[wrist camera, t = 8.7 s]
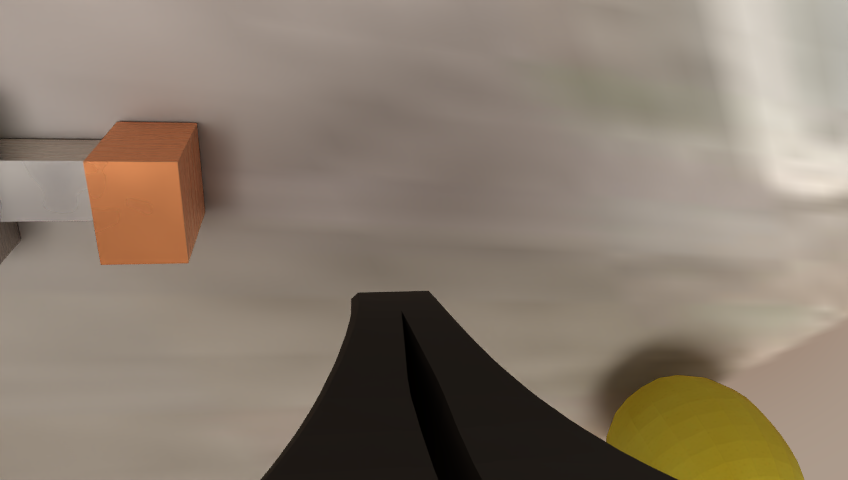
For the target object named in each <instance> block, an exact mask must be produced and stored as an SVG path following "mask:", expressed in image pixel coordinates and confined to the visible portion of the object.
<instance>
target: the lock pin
mask: <svg viewBox="0 0 848 480" xmlns="http://www.w3.org/2000/svg"><path fill="white" fill-rule="evenodd" d="M204 214H205V206H204V195H203V184H202V174H201V163H200V152H199V141H198V130H197V123H162V122H116V124H115V125H114V126H113V127H112V128H111V129H110V131H109V132H108V133H107V134H106V135H105V136H104V138H103V139H102V140H46V139H0V222H33V221H93V222H94V228H95V234H96V240H97V245H98V251H99V257H100V263H101V265H112V264H167V263H189V260H190V257H191V253H192V250H193V247H194V244H195V241H196V238H197V235H198V232H199V229H200V226H201V223H202V220H203V217H204Z"/></svg>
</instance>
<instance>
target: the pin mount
mask: <svg viewBox="0 0 848 480" xmlns="http://www.w3.org/2000/svg"><path fill="white" fill-rule="evenodd" d="M20 240H21V238H20V234H19V230H18V225H17V222H0V264H1V263H2V262H3V261H4V259H5V258H6V257H7V256H8V255H9V253H10V252H11V251H12V250H13V249H14V247H15V246H16V245H17V244H18V243H19V242H20Z"/></svg>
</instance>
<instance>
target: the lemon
mask: <svg viewBox="0 0 848 480" xmlns="http://www.w3.org/2000/svg"><path fill="white" fill-rule="evenodd" d="M606 442H607V443H608V444H610V445H612V446H614V447H615V448H617V449H619V450H620V451H622V452H624V453H626V454H628V455H630V456H632V457H634V458H635V459H637V460H639V461H641V462H643V463H645V464H647V465H649V466H651V467H653V468H655V469H657V470H659V471H661V472H663V473H665V474H668V475H670V476H672V477H674V478H676V479H678V480H804V477H803V475H802V472H801V469H800V467H799V464H798V462H797V460H796V458H795V456H794V455H793V453H792V451H791V450H790V448H789V446H788V445H787V443H786V442H785V441H784V439H783V438H782V436H781V435H780V433H779V432H778V431H777V430H776V429H775V427H774V426H773V425H772V424H771V422H770V421H769V420H768V419H767V418H766V417H765V416H764V415H763V413H761V411H760V410H759V409H758V408H757V407H756V406H755V405H754V404H752V403H751V402H750V401H749V400H748V399H747V398H746V397H745V396H743V395H741V394H740V393H738V392H737V391H735V390H733V389H731V388H729V387H726V386H724V385H722V384H720V383H717V382H715V381H713V380H710V379H708V378H704V377H693V376H682V375H674V376H668V377H661V378H658V379H656V380H654V381H652V382H650V383H648V384H646V385H645V386H643V387H641V388H640V389H638V390H637V391H636V392H635V393H633V394H632V395H631V396H630V397H628V398H627V399H626V400H625V402H624V403H623V404H622V405H621V407H620V408H619V409H618V410H617V412H616V413H615V415H614V418H613V421H612V423H611V426H610V429H609V431H608V434H607V438H606Z"/></svg>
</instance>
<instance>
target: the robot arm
mask: <svg viewBox="0 0 848 480" xmlns="http://www.w3.org/2000/svg"><path fill="white" fill-rule="evenodd" d="M261 480H678V479H676V478H674V477H672V476H670V475H668V474H665V473H663V472H661V471H659V470H657V469H655V468H653V467H651V466H649V465H647V464H645V463H643V462H641V461H639V460H637V459H635V458H634V457H632V456H630V455H628V454H626V453H624V452H622V451H620V450H619V449H617V448H615V447H614V446H612V445H610V444H608V443H607V442H605V441H603V440H602V439H600V438H598V437H597V436H595V435H593V434H592V433H590V432H588V431H586V430H585V429H583V428H582V427H580V426H579V425H577V424H576V423H574V422H572V421H571V420H569V419H568V418H566V417H565V416H564V415H562V414H561V413H559V412H558V411H557V410H555V409H554V408H552V407H551V406H550V405H548V404H547V403H545V402H544V401H543V400H541V399H540V398H538V397H537V396H536V395H535V394H533V393H532V392H531V391H529V390H528V389H527V388H526V387H524V386H523V385H522V384H521V383H520V382H518V381H517V380H516V379H515V378H514V377H513V376H511V375H510V374H509V373H508V372H507V371H506V370H504V369H503V368H502V367H501V366H500V365H499V364H498V363H497V362H496V361H494V360H493V359H492V358H491V357H490V356H489V355H488V354H487V353H486V352H485V351H484V350H483V349H482V348H481V347H480V346H479V345H478V344H477V343H476V342H475V341H474V340H473V339H472V338H471V337H470V336H469V335H468V334H467V333H466V331H465V330H464V329H463V328H462V327H461V326H460V325H459V324H458V323H457V322H456V321H455V320H454V318H453V317H452V316H451V315H450V314H449V313H448V312H447V311H446V310H445V308H444V307H443V306H442V305H441V304H440V303H439V302H438V301H437V299H436V298H435V297H434V296H433V295H432V294H431V293H430V292H429V291H409V292H369V293H357V294H356V295H355V296H354V297H353V298H352V299H351V317H350V322H349V325H348V329H347V332H346V336H345V338H344V341H343V344H342V346H341V349H340V352H339V354H338V357H337V359H336V362H335V364H334V366H333V368H332V370H331V372H330V374H329V376H328V379H327V381H326V383H325V385H324V387H323V389H322V391H321V393H320V395H319V396H318V398H317V400H316V402H315V403H314V405H313V407H312V409H311V410H310V412H309V414H308V415H307V417H306V418H305V420H304V422H303V423H302V425H301V426H300V428H299V429H298V431H297V432H296V434H295V435H294V437H293V438H292V439H291V441H290V442H289V444H288V445H287V446H286V448H285V449H284V450H283V452H282V453H281V455H280V456H279V457H278V459H277V460H276V461H275V463H274V464H273V465H272V466H271V468H270V469H269V470H268V471H267V473H266V474H265V475H264V476H263V477H262V479H261Z"/></svg>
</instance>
